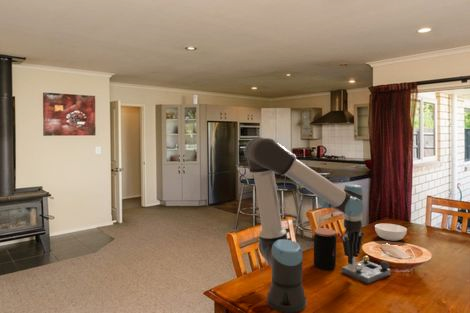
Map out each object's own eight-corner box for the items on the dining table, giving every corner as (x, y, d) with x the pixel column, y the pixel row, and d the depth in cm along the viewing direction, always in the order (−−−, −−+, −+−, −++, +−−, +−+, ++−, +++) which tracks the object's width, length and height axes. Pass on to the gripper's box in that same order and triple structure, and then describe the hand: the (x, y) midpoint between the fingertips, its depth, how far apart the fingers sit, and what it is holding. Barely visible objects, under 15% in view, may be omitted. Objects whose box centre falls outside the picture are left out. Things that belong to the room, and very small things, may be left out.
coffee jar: (336, 272, 156) (337, 235, 154) (313, 270, 158) (314, 233, 157) (334, 263, 166) (335, 228, 165) (313, 261, 168) (313, 227, 167)
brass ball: (366, 263, 160) (366, 257, 160) (361, 261, 162) (361, 255, 162) (370, 262, 161) (370, 256, 161) (365, 260, 164) (365, 254, 164)
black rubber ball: (385, 271, 151) (386, 263, 151) (378, 268, 154) (378, 260, 154) (390, 269, 153) (391, 261, 153) (383, 266, 156) (383, 258, 156)
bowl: (377, 232, 218) (378, 221, 217) (408, 237, 207) (409, 226, 207) (371, 239, 203) (371, 228, 203) (403, 245, 192) (404, 233, 192)
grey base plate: (367, 283, 144) (367, 278, 144) (341, 272, 156) (342, 267, 155) (390, 274, 153) (390, 269, 153) (364, 264, 165) (364, 259, 164)
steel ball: (359, 273, 149) (359, 265, 149) (353, 270, 152) (353, 263, 151) (364, 271, 151) (364, 264, 150) (357, 268, 153) (358, 261, 153)
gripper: (350, 223, 140) (349, 276, 142) (369, 218, 147) (368, 269, 148) (336, 219, 146) (335, 270, 148) (355, 215, 153) (354, 264, 155)
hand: (351, 270), depth 148 cm, fingers closed
